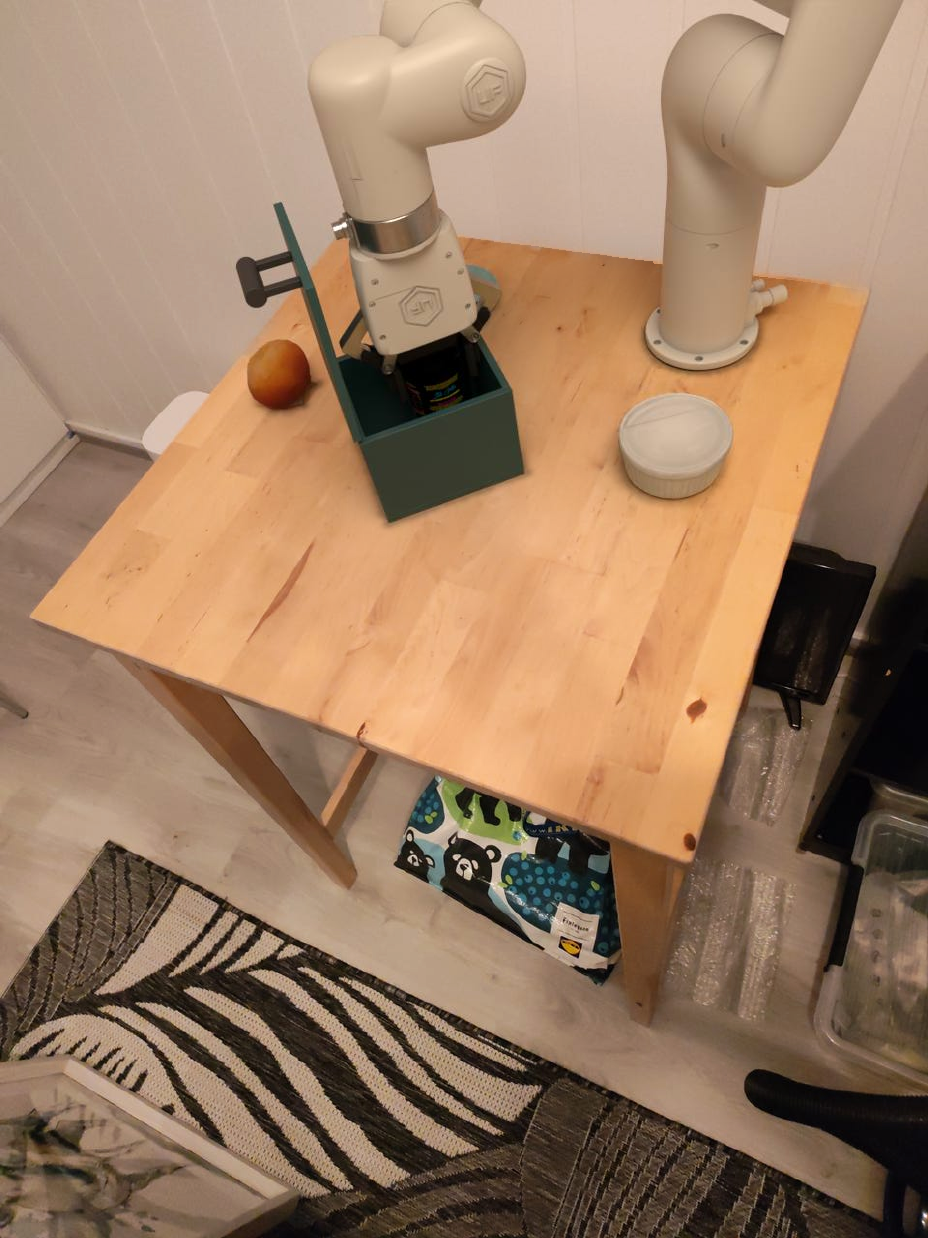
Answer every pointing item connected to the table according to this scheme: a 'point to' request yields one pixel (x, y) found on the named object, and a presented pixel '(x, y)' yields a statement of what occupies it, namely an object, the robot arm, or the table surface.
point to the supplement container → (435, 375)
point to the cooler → (434, 438)
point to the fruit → (279, 374)
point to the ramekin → (674, 444)
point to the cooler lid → (259, 294)
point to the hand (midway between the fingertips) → (436, 380)
